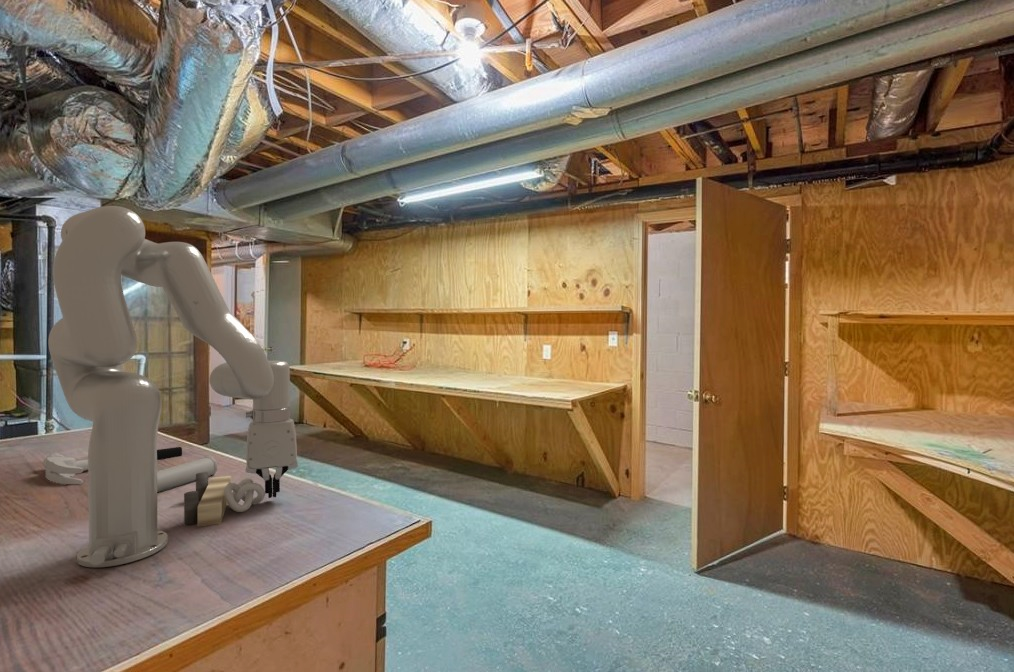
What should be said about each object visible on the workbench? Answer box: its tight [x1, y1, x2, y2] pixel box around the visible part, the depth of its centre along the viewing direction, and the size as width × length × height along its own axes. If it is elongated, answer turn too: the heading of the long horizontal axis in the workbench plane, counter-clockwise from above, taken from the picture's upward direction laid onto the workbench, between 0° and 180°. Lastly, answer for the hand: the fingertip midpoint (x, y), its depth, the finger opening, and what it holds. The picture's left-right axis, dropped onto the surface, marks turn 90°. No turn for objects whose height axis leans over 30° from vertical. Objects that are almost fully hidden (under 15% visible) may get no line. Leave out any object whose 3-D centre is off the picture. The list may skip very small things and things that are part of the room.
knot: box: [224, 477, 266, 513], centre depth 107 cm, size 8×8×6 cm
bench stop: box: [183, 472, 232, 528], centre depth 106 cm, size 20×7×6 cm, turn 25°
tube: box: [157, 455, 218, 493], centre depth 118 cm, size 5×5×25 cm
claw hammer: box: [42, 446, 183, 485], centre depth 136 cm, size 6×22×30 cm
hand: (272, 495), depth 110 cm, fingers closed
